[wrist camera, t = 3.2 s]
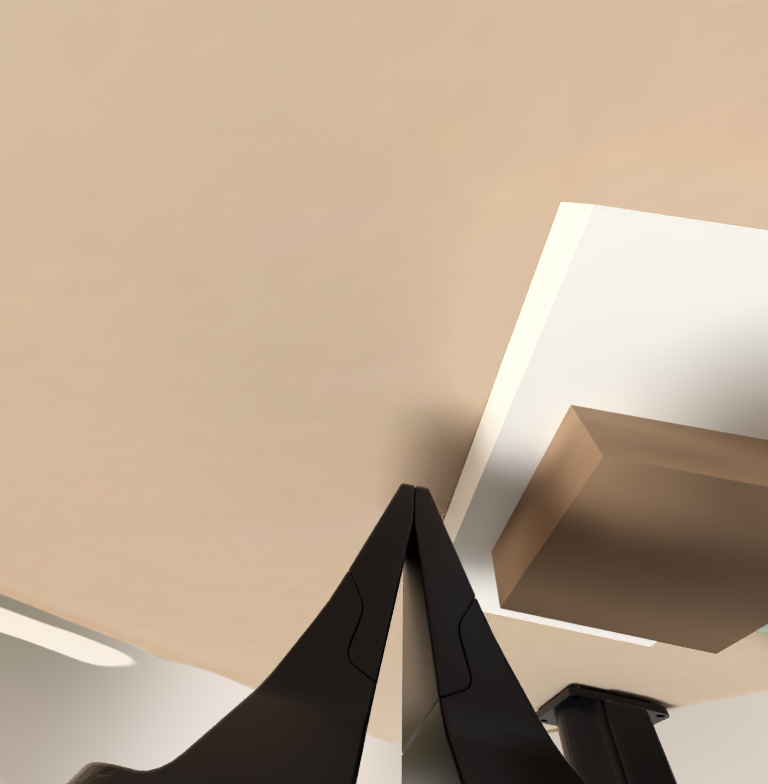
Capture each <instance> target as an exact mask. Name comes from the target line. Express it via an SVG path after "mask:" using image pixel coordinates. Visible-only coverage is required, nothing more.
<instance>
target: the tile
mask: <svg viewBox="0 0 768 784" xmlns="http://www.w3.org/2000/svg"><path fill="white" fill-rule="evenodd" d="M491 553H492V559H493V566H494V572H495V579H496V585H497V592H498V598H499V605H500V608H501V609H506V610H510V611H515V612H520V613H525V614H529V615H534V616H539V617H544V618H549V619H553V620H558V621H563V622H568V623H572V624H577V625H582V626H587V627H591V628H596V629H601V630H606V631H610V632H615V633H620V634H625V635H629V636H634V637H639V638H644V639H648V640H653V641H658V642H663V643H667V644H672V645H677V646H682V647H686V648H691V649H696V650H701V651H705V652H710V653H715V654H717V653H718V652H720V651H722V650H724V649H725V648H727V647H729V646H730V645H732V644H734V643H736V642H737V641H739V640H741V639H743V638H744V637H746V636H748V635H749V634H751V633H753V632H755V631H756V630H758V629H760V628H762V627H763V626H765V625H767V624H768V440H765V439H759V438H754V437H748V436H742V435H737V434H731V433H726V432H720V431H714V430H709V429H703V428H698V427H692V426H687V425H681V424H675V423H670V422H664V421H659V420H653V419H647V418H642V417H636V416H631V415H625V414H620V413H614V412H608V411H603V410H597V409H592V408H586V407H580V406H575V405H571V406H570V407H569V409H568V411H567V413H566V415H565V417H564V419H563V420H562V422H561V424H560V426H559V428H558V430H557V431H556V433H555V435H554V437H553V439H552V441H551V443H550V444H549V446H548V448H547V450H546V452H545V454H544V456H543V457H542V459H541V461H540V463H539V465H538V467H537V468H536V470H535V472H534V474H533V476H532V478H531V480H530V481H529V483H528V485H527V487H526V489H525V491H524V493H523V494H522V496H521V498H520V500H519V502H518V504H517V505H516V507H515V509H514V511H513V513H512V515H511V517H510V518H509V520H508V522H507V524H506V526H505V528H504V530H503V531H502V533H501V535H500V537H499V539H498V541H497V542H496V544H495V546H494V548H493V550H492V552H491Z"/></svg>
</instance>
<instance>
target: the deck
mask: <svg viewBox="0 0 768 784" xmlns="http://www.w3.org/2000/svg"><path fill="white" fill-rule="evenodd" d="M571 405H575V406H580V407H586V408H592V409H597V410H603V411H608V412H614V413H620V414H625V415H631V416H636V417H642V418H647V419H653V420H659V421H664V422H670V423H675V424H681V425H687V426H692V427H698V428H703V429H709V430H714V431H720V432H726V433H731V434H737V435H742V436H748V437H754V438H759V439H765V440H768V231H767V230H761V229H754V228H747V227H741V226H734V225H727V224H721V223H714V222H707V221H701V220H694V219H687V218H681V217H674V216H667V215H661V214H654V213H647V212H641V211H634V210H627V209H621V208H614V207H607V206H601V205H593V204H581V203H569V202H561V203H560V206H559V209H558V211H557V214H556V217H555V219H554V222H553V225H552V228H551V230H550V233H549V236H548V239H547V241H546V244H545V247H544V249H543V252H542V255H541V258H540V260H539V263H538V266H537V269H536V271H535V274H534V277H533V279H532V282H531V285H530V288H529V290H528V293H527V296H526V299H525V301H524V304H523V307H522V309H521V312H520V315H519V318H518V320H517V323H516V326H515V329H514V331H513V334H512V337H511V339H510V342H509V345H508V348H507V350H506V353H505V356H504V359H503V361H502V364H501V367H500V369H499V372H498V375H497V378H496V380H495V383H494V386H493V389H492V391H491V394H490V397H489V399H488V402H487V405H486V408H485V410H484V413H483V416H482V419H481V421H480V424H479V427H478V429H477V432H476V435H475V438H474V440H473V443H472V446H471V449H470V451H469V454H468V457H467V459H466V462H465V465H464V468H463V470H462V473H461V476H460V479H459V481H458V484H457V487H456V489H455V492H454V495H453V498H452V500H451V503H450V506H449V509H448V511H447V514H446V517H445V519H444V522H443V523H444V525H445V527H446V530H447V532H448V534H449V536H450V539H451V541H452V543H453V546H454V548H455V550H456V552H457V555H458V557H459V559H460V561H461V564H462V566H463V568H464V571H465V573H466V575H467V577H468V580H469V582H470V584H471V587H472V589H473V591H474V593H475V598H476V599H477V600H478V602H479V604H480V607H481V609H482V611H483V612H487V613H492V614H497V615H501V616H506V617H511V618H516V619H520V620H525V621H530V622H534V623H539V624H544V625H549V626H553V627H558V628H563V629H568V630H572V631H577V632H582V633H587V634H591V635H596V636H601V637H605V638H610V639H615V640H620V641H624V642H629V643H634V644H639V645H643V646H648V647H650V646H652V645H653V644H654V643H656V642H657V641H653V640H648V639H644V638H639V637H634V636H629V635H625V634H620V633H615V632H610V631H606V630H601V629H596V628H591V627H587V626H582V625H577V624H572V623H568V622H563V621H558V620H553V619H549V618H544V617H539V616H534V615H529V614H525V613H520V612H515V611H510V610H506V609H501V608H500V605H499V598H498V592H497V585H496V579H495V572H494V566H493V559H492V553H491V552H492V550H493V548H494V546H495V544H496V542H497V541H498V539H499V537H500V535H501V533H502V531H503V530H504V528H505V526H506V524H507V522H508V520H509V518H510V517H511V515H512V513H513V511H514V509H515V507H516V505H517V504H518V502H519V500H520V498H521V496H522V494H523V493H524V491H525V489H526V487H527V485H528V483H529V481H530V480H531V478H532V476H533V474H534V472H535V470H536V468H537V467H538V465H539V463H540V461H541V459H542V457H543V456H544V454H545V452H546V450H547V448H548V446H549V444H550V443H551V441H552V439H553V437H554V435H555V433H556V431H557V430H558V428H559V426H560V424H561V422H562V420H563V419H564V417H565V415H566V413H567V411H568V409H569V407H570V406H571Z"/></svg>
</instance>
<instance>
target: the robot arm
mask: <svg viewBox="0 0 768 784" xmlns="http://www.w3.org/2000/svg"><path fill="white" fill-rule="evenodd" d="M402 570H403V681H402V753H403V755H402V784H677V782H676V780H675V777H674V775H673V772H672V770H671V767H670V765H669V762H668V760H667V758H666V755H665V753H664V750H663V748H662V745H661V743H660V740H659V738H658V735H657V733H656V731H655V728H654V726H653V725H654V724H656V723H658V722H660V721H662V720H665V719H667V718H668V717H669V714H668V712H667V710H666V707H664V706H661V705H656V704H652V703H647V702H643V701H638V700H634V699H629V698H624V697H620V696H615V695H611V694H606V693H602V692H597V691H593V690H588V689H583V688H579V687H568V688H567V689H565V690H564V691H563V692H561V693H560V694H559V695H558V696H556V697H555V698H554V699H552V700H551V701H550V702H549V703H547V704H546V705H545V706H543V707H542V708H541V709H540V710H538V711H537V712H535V710H534V708H533V707H532V705H531V703H530V701H529V699H528V698H527V696H526V694H525V692H524V690H523V689H522V687H521V685H520V683H519V681H518V679H517V678H516V676H515V674H514V672H513V670H512V669H511V667H510V665H509V663H508V661H507V660H506V658H505V656H504V654H503V652H502V650H501V648H500V646H499V644H498V643H497V641H496V639H495V637H494V635H493V633H492V631H491V629H490V626H489V624H488V622H487V620H486V618H485V616H484V614H483V611H482V609H481V607H480V604H479V602H478V600H477V599H476V598H475V593H474V591H473V589H472V587H471V584H470V582H469V580H468V577H467V575H466V573H465V571H464V568H463V566H462V564H461V561H460V559H459V557H458V555H457V552H456V550H455V548H454V546H453V543H452V541H451V539H450V536H449V534H448V532H447V530H446V527H445V525H444V523H443V520H442V518H441V516H440V514H439V511H438V509H437V507H436V505H435V502H434V500H433V498H432V495H431V493H430V491H429V489H428V488H424V487H419V486H416V487H414V486H413V485H409V484H401V485H400V487H399V489H398V490H397V492H396V493H395V495H394V497H393V498H392V500H391V502H390V503H389V505H388V507H387V508H386V510H385V511H384V513H383V515H382V516H381V518H380V520H379V521H378V523H377V524H376V526H375V528H374V529H373V531H372V533H371V534H370V536H369V538H368V539H367V541H366V542H365V544H364V546H363V547H362V549H361V551H360V552H359V554H358V556H357V557H356V559H355V560H354V562H353V564H352V565H351V567H350V569H349V572H347V573H346V575H345V576H344V578H343V580H342V581H341V583H340V584H339V586H338V587H337V589H336V591H335V592H334V594H333V595H332V597H331V598H330V600H329V601H328V602H327V604H326V605H325V606H324V608H323V609H322V610H321V612H320V613H319V614H318V616H317V617H316V618H315V620H314V621H313V622H312V623H311V625H310V626H309V627H308V628H307V630H306V631H305V632H304V633H303V635H302V636H301V637H300V638H299V640H298V641H297V642H296V643H295V645H294V646H293V647H292V648H291V650H290V651H289V652H288V653H287V655H286V656H285V657H284V658H283V660H282V661H281V662H280V663H279V665H278V666H277V667H276V668H275V669H274V670H273V672H272V673H271V674H270V675H269V676H268V677H267V678H266V679H265V680H264V682H263V683H262V684H261V685H260V686H259V687H258V688H257V689H256V690H255V691H254V692H253V693H251V694H250V695H249V696H248V697H247V698H246V699H244V700H243V701H242V702H241V703H240V704H239V705H238V706H236V707H235V708H234V709H233V710H232V711H231V712H230V713H228V714H227V715H226V716H225V717H224V718H223V719H221V720H220V721H219V722H218V723H217V724H216V725H215V726H213V728H212V729H210V730H209V731H208V732H207V733H205V734H204V735H203V736H202V737H201V738H200V739H198V740H197V741H196V742H195V743H194V744H193V745H192V746H191V747H189V748H188V749H187V750H186V751H185V752H184V753H183V754H181V755H180V756H178V757H177V758H176V759H174V760H173V761H172V762H170V763H168V764H166V765H164V766H162V767H160V768H156V769H153V770H149V771H139V770H134V769H130V768H126V767H122V766H118V765H114V764H108V763H101V762H92V763H89V764H87V765H85V766H84V767H83V768H82V769H81V770H80V771H79V772H78V773H77V774H76V775H75V776H74V777H73V778H72V779H71V780H70V781H69V782H68V783H67V784H356V782H357V777H358V772H359V766H360V761H361V757H362V752H363V747H364V742H365V737H366V732H367V727H368V722H369V717H370V712H371V708H372V703H373V699H374V694H375V690H376V684H377V681H378V676H379V672H380V667H381V663H382V659H383V654H384V650H385V645H386V641H387V637H388V632H389V628H390V623H391V619H392V614H393V610H394V606H395V601H396V597H397V592H398V588H399V583H400V579H401V575H402ZM542 723H546V724H550V725H555V726H557V727H558V731H559V736H560V740H561V744H562V749H563V753H564V756H563V755H562V754H561V752H560V751H559V750H558V748H557V747H556V745H555V744H554V743H553V741H552V740H551V738H550V736H549V735H548V733H547V731H546V730H545V728H544V726H543V724H542ZM564 757H565V758H564Z"/></svg>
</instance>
